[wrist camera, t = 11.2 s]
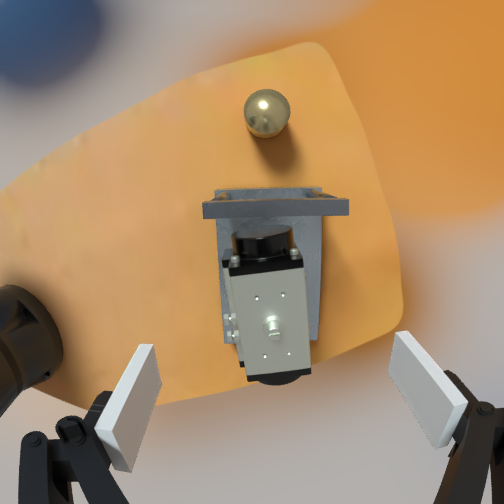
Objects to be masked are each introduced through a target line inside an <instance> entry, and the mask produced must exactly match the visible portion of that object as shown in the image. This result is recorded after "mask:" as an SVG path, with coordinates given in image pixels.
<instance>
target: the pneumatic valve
mask: <svg viewBox="0 0 504 504" xmlns="http://www.w3.org/2000/svg"><path fill="white" fill-rule="evenodd" d="M231 242H232V248H230V249H225V251H224V254H223V257H222V259H221V261H222V267H223V273H224V279H225V285H226V291H227V297H228V302H229V308H230V314H231V317H230V316H229V314H224V323H225V325H230V321H231V322H232V325H233V331H234V334H233V333H232V331H227V339H228V342H231V341H233V338H234V339H235V342H236V347H237V353H238V358H239V363H240V367H245V370H246V375H247V381H248V382H252V381H259V382H261V383H263V384H267V385H284V384H288V383H291V382H293V381H295V380H296V379H298V378H299V377H300V376H301V375H308V374H311V358H310V340H309V325H308V310H307V297H306V284H305V273H304V261H303V257H302V255H301V253H300V251H299V249H298V248H297V246H296V244H295V242H294V235H293V228H292V227H291V226H289V225H281V224H273V225H261V226H254V227H249V228H245V229H241V230H238V231H236V232H234V233H232V234H231Z"/></svg>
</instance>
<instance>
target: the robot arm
mask: <svg viewBox="0 0 504 504" xmlns="http://www.w3.org/2000/svg"><path fill="white" fill-rule="evenodd" d="M62 356H63V350H62V343H61V339H60V336H59V333H58V330H57V328H56V326H55V324H54V322H53V320H52V318H51V316H50V315H49V313H48V312H47V310H46V309H45V308H44V307H43V305H42V304H41V303H40V302H39V301H38V300H37V299H36V298H35V297H34V296H33V295H32V294H30V293H29V292H27V291H26V290H24V289H22V288H20V287H18V286H14V285H5V286H2V287H0V417H1V416H2V415H3V413H4V412H5V411H6V410H7V408H8V407H9V406H10V405H11V403H12V402H13V401H14V400H15V399H16V397H17V396H18V395H19V394H20V393H21V392H22V391H23V390H26V389H28V388H30V387H32V386H35V385H37V384H39V383H42V382H44V381H46V380H48V379H49V378H50V377H51V376H52V375H53V374H54V373H55V372H56V371H57V369H58V368H59V367H60V365H61V362H62ZM388 373H389V375H390V377H391V378H392V380H393V382H394V383H395V385H396V386H397V388H398V390H399V391H400V393H401V394H402V396H403V398H404V399H405V401H406V403H407V404H408V406H409V408H410V409H411V411H412V413H413V414H414V416H415V417H416V419H417V421H418V423H419V424H420V426H421V428H422V429H423V431H424V433H425V434H426V436H427V437H428V439H429V441H430V443H431V445H432V446H433V448H434V449H438V448H441V447H444V446H447V445H448V444H449V442H450V440H451V438H452V437H453V438H454V440H455V441H456V442H455V444H454V446H453V448H452V450H451V452H450V453H449V455H448V457H450V459H449V462H448V465H447V468H446V471H445V474H444V477H443V480H442V482H441V485H440V488H439V491H438V493H437V496H436V498H435V501H434V503H433V504H481V500H482V496H483V492H484V488H485V484H486V479H487V474H488V469H489V464H490V469H491V485H492V504H504V408H495V407H494V406H493V405H492V404H490V403H488V402H483V401H481V402H479V401H478V400H477V399H476V397H475V396H474V395H473V394H472V393H471V392H470V390H469V389H468V388H467V387H466V386H465V385H464V383H462V382H461V380H460V379H459V378H458V377H457V376H456V374H454V373H452V372H450V371H449V370H446V371H442V370H441V369H440V367H439V366H438V365H437V364H436V363H435V362H434V360H433V359H432V358H431V357H430V356H429V355H428V353H426V351H425V350H424V349H423V348H422V347H421V345H420V344H419V343H418V342H417V341H416V340H415V339H414V338H413V336H412V335H411V334H410V333H409V332H408V331H401V332H396V333H395V338H394V344H393V350H392V354H391V359H390V364H389V369H388ZM161 385H162V383H161V379H160V374H159V370H158V365H157V360H156V356H155V351H154V346H153V344H140V345H139V346H138V348H137V350H136V352H135V353H134V355H133V357H132V359H131V361H130V362H129V364H128V366H127V368H126V370H125V371H124V373H123V375H122V377H121V379H120V380H119V382H118V384H117V386H116V388H115V390H114V392H112V391H103V392H102V393H101V394H99V395H98V396H97V397H96V399H95V401H94V402H93V405H92V406H91V408H90V411H88V413H87V415H86V416H85V418H84V420H82V418H80V417H78V416H66V417H64V418H62V419H60V420H59V421H58V422H57V424H56V427H55V428H56V432H57V434H58V436H59V438H60V439H53V440H48V438H47V437H46V435H45V434H44V433H42V432H40V431H33V432H30V433H28V434H26V435H25V436H24V437H23V439H22V442H21V451H20V465H19V490H18V491H19V492H18V504H74V502H73V495H72V487H71V482H79V484H80V486H81V488H82V491H83V493H84V495H85V497H86V499H87V501H88V503H89V504H129V503H128V501H127V499H126V498H125V496H124V495H123V493H122V491H121V490H120V488H119V486H118V485H117V483H116V482H115V480H114V478H113V476H112V475H111V473H110V471H109V466H110V464H111V463H112V465H113V467H114V469H115V470H119V471H124V472H130V473H131V472H132V469H133V466H134V463H135V460H136V457H137V454H138V451H139V448H140V445H141V442H142V439H143V437H144V433H145V431H146V428H147V425H148V422H149V419H150V416H151V413H152V411H153V408H154V405H155V402H156V399H157V397H158V394H159V391H160V388H161Z"/></svg>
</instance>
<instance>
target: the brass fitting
mask: <svg viewBox="0 0 504 504" xmlns="http://www.w3.org/2000/svg"><path fill="white" fill-rule="evenodd" d="M244 116H245V122H246V126H247V128H248V130H249V131H250V132H251V133H252V134H253V135H255V136H257V137H260V138H271V137H274V136H276V135H277V134H278V133H280V131H281V130H282V129H283V127H284V126H285V125H286V123H287V122H288V120H289V117H290V106H289V103H288V101H287V99H286V98H285V97H284V96H283V95H282V94H281V93H279V92H277V91H275V90H270V89H263V90H259V91H256V92H254V93H253V94H252V95H250V96H249V98H248V99H247V101H246V103H245V105H244Z"/></svg>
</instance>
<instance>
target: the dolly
mask: <svg viewBox="0 0 504 504" xmlns="http://www.w3.org/2000/svg"><path fill="white" fill-rule="evenodd" d="M202 207H203V219H216V228H217V245H218V262H219V277H220V292H221V306H222V319H223V331H224V344H226V343H236V342H235V339H234V338H233V341H231V342H228V339H227V331H232V333H233V334H234V331H233V325H232V322H231V321H230V325H225V323H224V314H229V316H230V317H231V314H230V308H229V302H228V297H227V291H226V285H225V279H224V273H223V267H222V261H221V259H222V257H223V254H224V251H225V249H230V248H232V242H231V234H232V233H234V232H236V231H238V230H241V229H245V228H249V227H254V226H261V225H273V224H281V225H289V226H291V227H292V228H293V235H294V242H295V244H296V246H297V248H298V249H299V251H300V253H301V255H302V257H303V261H304V273H305V284H306V297H307V310H308V325H309V340H318V324H319V306H320V283H321V249H322V216H347V215H349V199H346V198H337V197H334V196H331V195H328V194H326V193H323V192H322V188H321V187H262V188H233V189H216V190H215V198H214V199H212V200H211V201H204V202H203V203H202Z"/></svg>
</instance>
